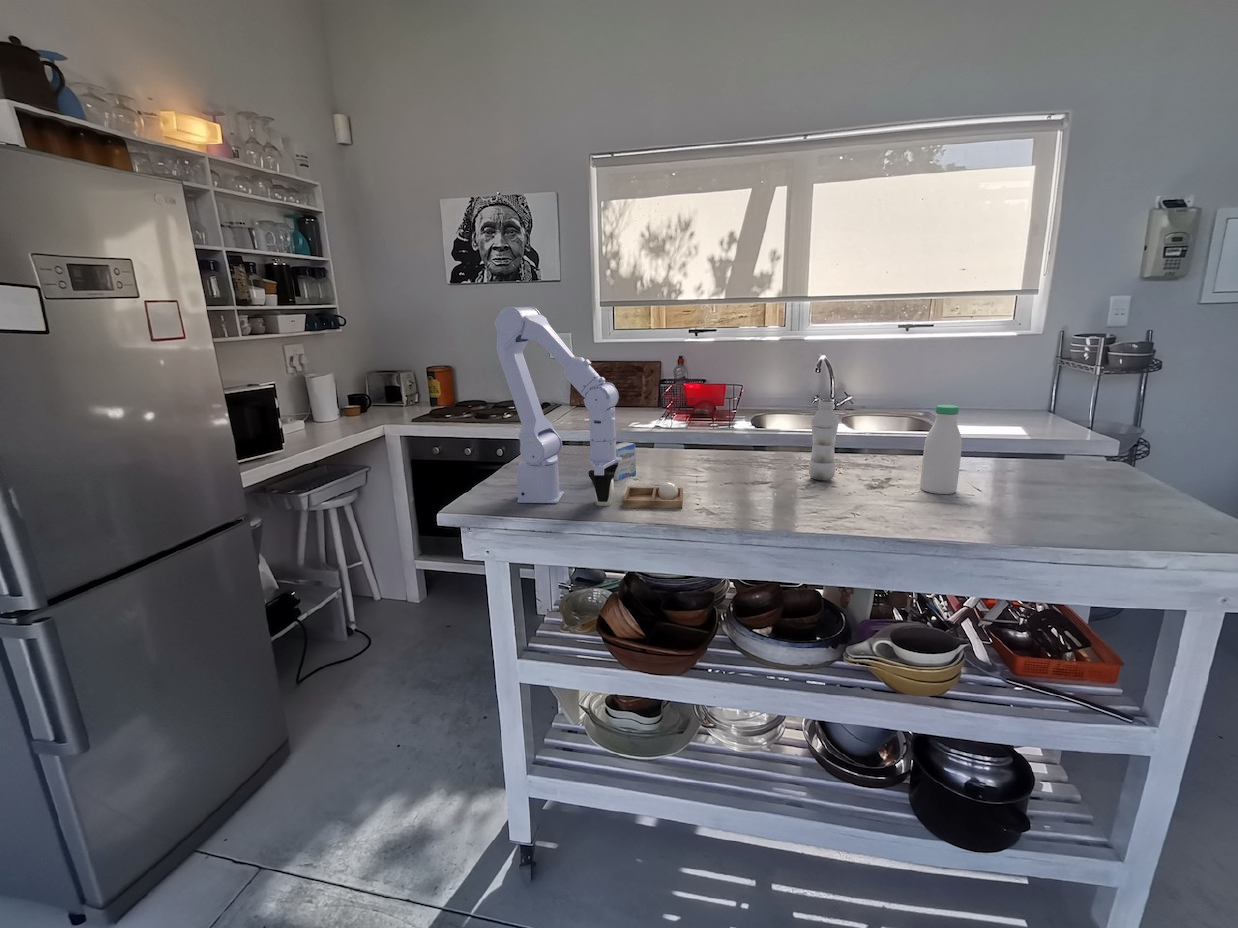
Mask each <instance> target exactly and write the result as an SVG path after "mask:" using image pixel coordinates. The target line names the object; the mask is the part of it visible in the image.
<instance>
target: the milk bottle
mask: <svg viewBox="0 0 1238 928" xmlns="http://www.w3.org/2000/svg"><path fill="white" fill-rule="evenodd" d="M959 412H960V407H959V406H958V405H953V404H938V405H936V407H935V414H934V415H935V420H934V423H933V425H932V426H931V428H930V429H929V430H928V432H927V434H926V438H925V441H924V446H923V455H922V462H921V463H922V464H921V472H920V481H919V482H920V483H919V488H920V490H922V491H924V492H927V493H931V494H938V495H952V494H954V493H956V492H957V489H958V481H959V477H960V476H959V474H960V466H961V458H962V449H963V448H962V447H963V440H962V435H961V433H960V432H961V431H960V430H959V427H958V423H957V418H958V417H959Z"/></svg>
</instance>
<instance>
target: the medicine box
mask: <svg viewBox="0 0 1238 928" xmlns="http://www.w3.org/2000/svg"><path fill="white" fill-rule="evenodd" d="M636 453H637V451H636V444H635V443H632V442H627V441H625V442H620V443H616V457H621V458H622V461H621V462H618V467H617V469H616V471H615V475H614V480H615V481H620V480H623V479H625V478H629V477H631V476H632V477H634V476H636V475H637V463H636V462H637V461H636V460H637V458H636V457H637V456H636V455H637V454H636ZM633 475H634V476H633Z"/></svg>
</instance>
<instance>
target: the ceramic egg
mask: <svg viewBox="0 0 1238 928" xmlns="http://www.w3.org/2000/svg"><path fill="white" fill-rule="evenodd" d="M659 487H660V488H659V496H660V498H661V499H662V500H674V499H675V498H676V497H677V495H678V489H677V488H678V487H677V485H676V484H675V483H674V482H670V481H665V482H663V483H662V484H660V486H659Z"/></svg>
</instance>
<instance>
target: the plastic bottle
mask: <svg viewBox="0 0 1238 928" xmlns="http://www.w3.org/2000/svg"><path fill="white" fill-rule="evenodd" d="M817 409H818V411H817V412H816V413H815V414H814V416H813V417H812V418H811V419H812V420H811V433H812V434H811V435H812V448H811V453H810V454H811V456H810V461H809V465H808V474H809V476H810V478H811V479H812V480H813V479H814V480H817V481H829V480H832V479H833V478H834V477H835V473H836V462H835V444H836V438H837V433H838V429H839V418H838V417H837V415H836V413H835V412H834V409H835V400H833V399H819V400H818V404H817Z"/></svg>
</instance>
